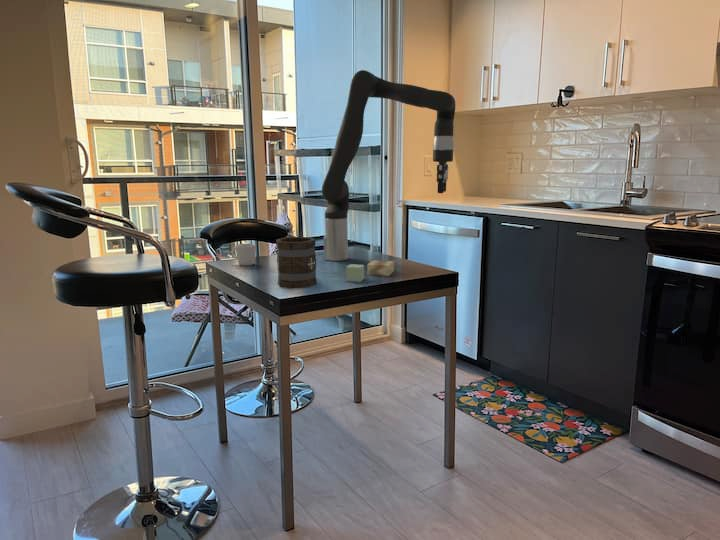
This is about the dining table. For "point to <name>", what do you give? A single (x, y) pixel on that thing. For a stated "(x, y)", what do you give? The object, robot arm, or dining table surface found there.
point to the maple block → (380, 267)
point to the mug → (296, 262)
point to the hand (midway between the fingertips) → (441, 192)
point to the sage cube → (355, 272)
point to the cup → (245, 254)
